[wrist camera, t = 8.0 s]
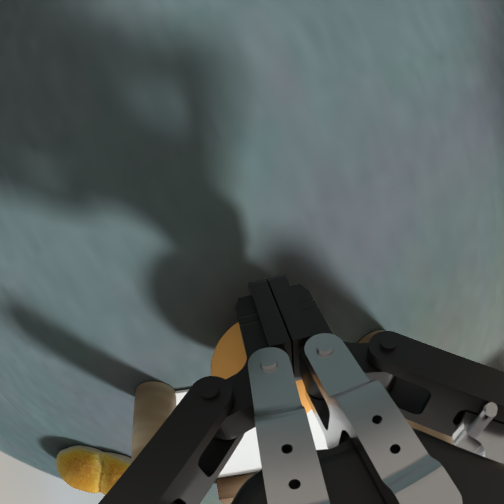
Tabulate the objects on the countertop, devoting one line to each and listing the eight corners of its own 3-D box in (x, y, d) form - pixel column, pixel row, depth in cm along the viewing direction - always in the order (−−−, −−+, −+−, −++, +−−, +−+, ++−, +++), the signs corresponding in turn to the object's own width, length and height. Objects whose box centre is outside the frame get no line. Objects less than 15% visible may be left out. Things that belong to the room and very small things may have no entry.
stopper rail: (347, 448, 28) (355, 467, 26) (345, 455, 29) (352, 473, 27) (216, 479, 27) (219, 499, 24) (220, 484, 28) (223, 503, 25)
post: (168, 378, 18) (174, 522, 10) (181, 402, 19) (191, 531, 11) (129, 383, 17) (121, 521, 10) (144, 406, 19) (144, 531, 11)
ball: (346, 400, 10) (328, 429, 14) (323, 283, 14) (314, 340, 18) (196, 413, 11) (222, 438, 15) (201, 294, 14) (221, 348, 18)
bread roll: (55, 433, 20) (49, 471, 17) (153, 455, 23) (154, 494, 20) (61, 464, 23) (57, 495, 20) (140, 482, 26) (141, 513, 23)
